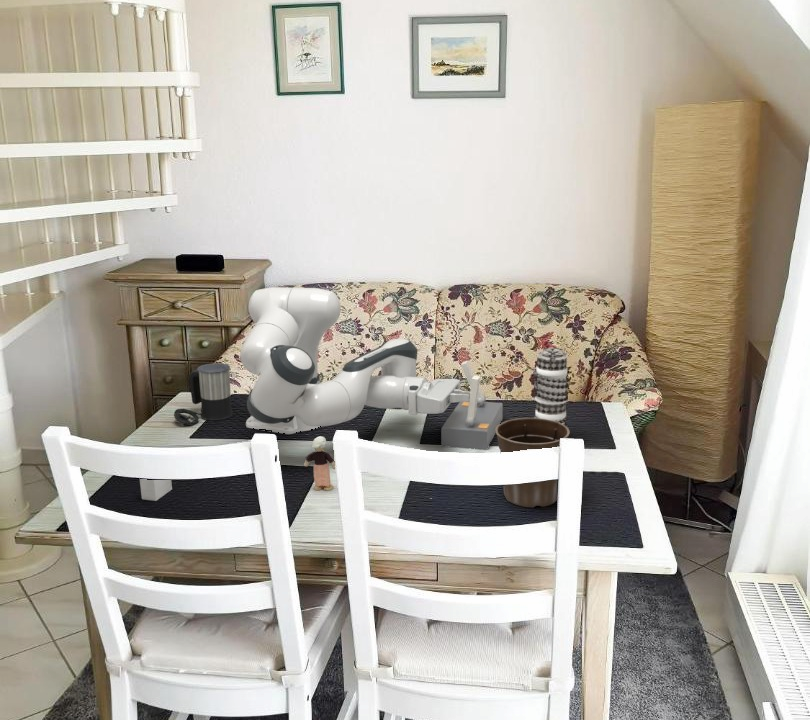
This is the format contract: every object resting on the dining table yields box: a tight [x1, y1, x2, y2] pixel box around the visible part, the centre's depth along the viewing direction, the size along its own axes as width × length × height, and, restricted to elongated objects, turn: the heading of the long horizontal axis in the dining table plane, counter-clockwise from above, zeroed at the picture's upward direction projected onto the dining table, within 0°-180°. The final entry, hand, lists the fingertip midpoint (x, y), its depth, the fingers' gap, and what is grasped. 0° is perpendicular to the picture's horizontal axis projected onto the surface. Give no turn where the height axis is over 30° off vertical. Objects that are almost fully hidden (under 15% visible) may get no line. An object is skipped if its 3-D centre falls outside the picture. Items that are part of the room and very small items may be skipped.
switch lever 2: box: [466, 374, 481, 426], centre depth 227 cm, size 2×4×13 cm, turn 164°
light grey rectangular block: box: [139, 478, 173, 502], centre depth 202 cm, size 4×7×10 cm, turn 162°
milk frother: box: [173, 362, 234, 426], centre depth 252 cm, size 14×16×15 cm
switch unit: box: [440, 401, 504, 450], centre depth 238 cm, size 12×24×5 cm, turn 164°
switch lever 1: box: [460, 360, 487, 406], centre depth 244 cm, size 2×4×13 cm, turn 164°
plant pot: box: [495, 417, 571, 509], centre depth 195 cm, size 16×16×16 cm
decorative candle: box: [533, 347, 571, 427], centre depth 227 cm, size 9×9×25 cm
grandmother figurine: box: [303, 435, 336, 491], centre depth 203 cm, size 8×4×13 cm, turn 89°
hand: (470, 396), depth 226 cm, fingers closed, pressing on switch lever 2
